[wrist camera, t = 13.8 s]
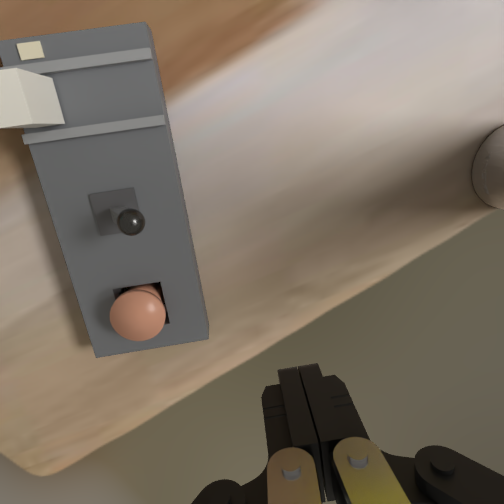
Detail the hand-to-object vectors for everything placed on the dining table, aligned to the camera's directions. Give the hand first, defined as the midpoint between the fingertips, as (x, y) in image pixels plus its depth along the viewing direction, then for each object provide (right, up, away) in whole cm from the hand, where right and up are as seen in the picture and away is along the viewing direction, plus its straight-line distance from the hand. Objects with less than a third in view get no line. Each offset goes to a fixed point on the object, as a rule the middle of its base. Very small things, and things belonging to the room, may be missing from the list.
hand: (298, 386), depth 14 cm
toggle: (-14, +9, +21) cm, 27 cm away
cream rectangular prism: (-19, +17, +18) cm, 31 cm away
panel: (-15, +10, +24) cm, 30 cm away
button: (-13, 0, +27) cm, 30 cm away
